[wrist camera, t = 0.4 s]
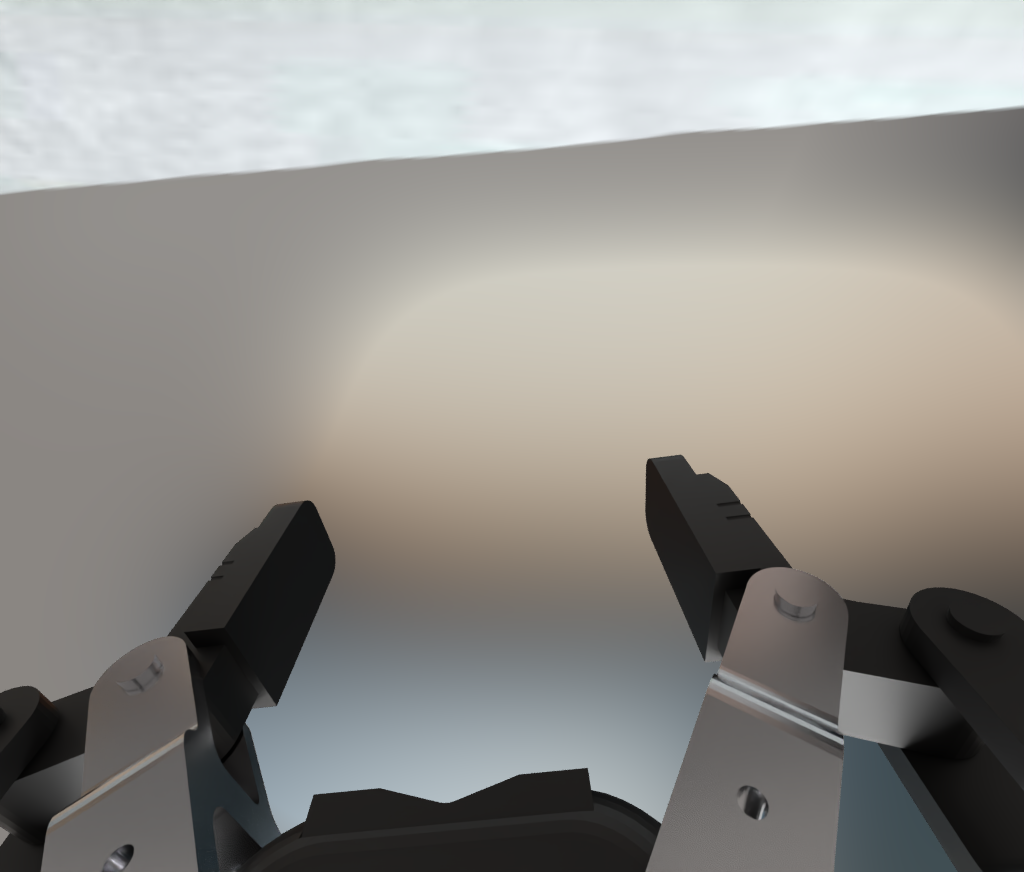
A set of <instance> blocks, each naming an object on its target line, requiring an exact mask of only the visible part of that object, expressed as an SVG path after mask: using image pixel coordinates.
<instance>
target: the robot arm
mask: <svg viewBox="0 0 1024 872" xmlns="http://www.w3.org/2000/svg"><path fill="white" fill-rule="evenodd" d="M645 507H646V508H645V512H646V522H647V527H648V531H649V534H650V537H651V540H652V542H653V544H654V547H655V549H656V551H657V553H658V556H659V558H660V560H661V562H662V565H663V567H664V570H665V572H666V574H667V576H668V579H669V581H670V583H671V585H672V588H673V590H674V592H675V595H676V597H677V599H678V602H679V604H680V606H681V608H682V611H683V613H684V615H685V618H686V620H687V622H688V625H689V627H690V629H691V631H692V634H693V636H694V638H695V640H696V643H697V645H698V647H699V650H700V652H701V654H702V657H703V659H704V661H705V662H714V661H722V662H721V665H720V668H719V671H718V673H717V675H716V674H714V675H713V677H712V679H711V681H710V683H709V686H708V689H707V692H706V694H705V697H704V701H703V703H702V707H701V709H700V712H699V715H698V718H697V721H696V724H695V727H694V730H693V733H692V736H691V739H690V742H689V745H688V748H687V751H686V754H685V757H684V760H683V763H682V765H681V768H680V771H679V774H678V777H677V780H676V783H675V786H674V789H673V792H672V795H671V798H670V801H669V804H668V807H667V809H666V812H665V815H664V818H663V821H662V824H661V823H659V822H658V821H656V820H655V819H654V818H652V817H651V816H649V815H648V814H647V813H645V812H644V811H642V810H641V809H639V808H637V807H635V806H634V805H632V804H630V803H628V802H626V801H624V800H622V799H619V798H617V797H614V796H611V795H609V794H606V793H602V792H597V791H593V790H591V786H590V780H589V773H588V768H582V769H573V770H563V771H552V772H542V773H531V774H521V775H517V776H515V777H512V778H510V779H507V780H505V781H503V782H500V783H498V784H495V785H493V786H490V787H488V788H486V789H483V790H481V791H478V792H476V793H473V794H471V795H469V796H466V797H464V798H461V799H459V800H456V801H454V802H450V803H439V802H435V801H431V800H426V799H423V798H418V797H414V796H410V795H406V794H402V793H397V792H393V791H389V790H385V789H381V788H378V789H368V790H357V791H348V792H337V793H326V794H318V795H317V794H316V795H314V796H313V799H312V802H311V805H310V809H309V812H308V815H307V818H306V821H305V822H303V823H301V824H299V825H297V826H295V827H294V828H292V829H290V830H288V831H286V832H285V833H283V834H281V833H280V831H279V829H278V827H277V825H276V823H275V821H274V818H273V815H272V813H271V809H270V806H269V802H268V798H267V794H266V790H265V786H264V782H263V778H262V775H261V770H260V766H259V763H258V759H257V755H256V751H255V747H254V743H253V739H252V735H251V731H250V729H249V727H248V726H247V725H246V723H245V722H246V719H247V718H248V715H249V713H250V711H251V709H253V708H263V707H272V706H277V704H278V702H279V699H280V697H281V695H282V692H283V690H284V688H285V685H286V683H287V681H288V678H289V676H290V674H291V671H292V669H293V667H294V665H295V662H296V660H297V657H298V655H299V653H300V651H301V648H302V646H303V643H304V641H305V639H306V637H307V634H308V632H309V630H310V627H311V625H312V622H313V620H314V618H315V616H316V613H317V611H318V609H319V606H320V604H321V602H322V599H323V597H324V595H325V592H326V590H327V587H328V585H329V583H330V581H331V578H332V576H333V573H334V569H335V552H334V548H333V546H332V544H331V541H330V539H329V536H328V534H327V532H326V530H325V527H324V525H323V523H322V520H321V518H320V516H319V513H318V511H317V509H316V507H315V505H314V504H313V503H312V502H311V501H300V502H292V503H284V504H277V505H275V506H274V507H273V508H272V509H271V510H270V512H269V513H268V514H267V516H266V517H265V519H264V520H263V522H262V523H261V524H260V526H259V527H258V528H255V529H253V530H252V531H251V532H250V533H249V534H247V535H246V536H245V537H244V538H242V539H241V540H240V541H239V542H238V543H236V544H235V546H234V547H233V548H232V549H231V551H230V552H229V554H228V555H227V556H226V558H225V559H224V560H223V562H222V566H219V567H218V568H217V570H216V571H215V573H214V574H213V575H212V576H211V578H212V579H211V581H208V582H207V583H206V585H205V586H204V587H203V589H202V590H201V591H200V593H199V594H198V595H197V597H196V598H195V599H194V601H193V602H192V604H191V605H190V606H189V607H188V609H187V610H186V612H185V613H184V614H183V616H182V617H181V618H180V620H179V621H178V622H177V624H176V625H175V627H174V628H173V629H172V630H171V632H170V633H169V635H168V636H167V637H161V638H157V639H154V640H151V641H149V642H146V643H144V644H142V645H140V646H138V647H136V648H135V649H133V650H131V651H130V652H128V653H127V654H125V655H124V656H122V657H121V658H120V659H119V660H117V661H116V662H115V663H114V664H113V665H112V666H110V668H108V669H107V670H106V671H105V673H104V674H103V675H102V676H101V677H100V679H99V680H98V681H97V683H96V684H95V686H94V687H91V688H89V689H86V690H83V691H81V692H78V693H75V694H72V695H70V696H67V697H64V698H61V699H59V700H56V701H53V702H50V701H49V700H48V699H47V698H46V697H45V696H44V695H43V694H42V693H41V692H40V691H39V690H38V689H36V688H34V687H31V686H22V687H17V688H13V689H10V690H7V691H4V692H2V693H0V827H2V828H3V829H5V830H6V831H8V832H9V833H10V834H9V835H8V837H7V838H6V839H5V841H4V842H3V844H2V845H1V846H0V872H834V862H835V850H836V839H837V827H838V815H839V803H840V792H841V780H842V768H843V756H844V737H843V735H847V736H851V737H856V738H860V739H864V740H869V741H873V742H877V743H878V744H879V746H880V748H881V749H882V751H883V752H884V754H885V756H886V757H887V759H888V760H889V762H890V764H891V765H892V767H893V768H894V770H895V772H896V773H897V775H898V777H899V778H900V780H901V781H902V783H903V784H904V786H905V788H906V789H907V791H908V793H909V794H910V796H911V797H912V799H913V801H914V802H915V804H916V805H917V807H918V808H919V810H920V812H921V813H922V815H923V816H924V818H925V820H926V821H927V823H928V825H929V826H930V828H931V829H932V831H933V833H934V834H935V836H936V838H937V839H938V841H939V842H940V844H941V845H942V847H943V849H944V850H945V852H946V853H947V855H948V857H949V858H950V860H951V862H952V863H953V865H954V866H955V868H956V870H957V871H958V872H1024V621H1023V620H1022V619H1021V618H1019V617H1018V616H1017V615H1015V614H1014V613H1012V612H1011V611H1009V610H1008V609H1006V608H1004V607H1003V606H1001V605H999V604H997V603H995V602H993V601H991V600H989V599H986V598H984V597H981V596H978V595H976V594H973V593H969V592H966V591H962V590H957V589H952V588H927V589H924V590H921V591H919V592H917V593H915V594H914V596H913V597H912V598H911V600H910V603H909V605H908V607H907V609H903V608H897V607H890V606H883V605H876V604H869V603H862V602H856V601H850V600H846V599H842V597H841V596H840V595H839V594H838V592H836V591H835V590H834V589H833V588H832V587H831V586H830V585H828V584H827V583H826V582H824V581H822V580H821V579H819V578H818V577H815V576H813V575H811V574H809V573H806V572H803V571H800V570H796V569H793V568H792V567H791V566H790V564H789V563H788V562H787V561H786V559H785V558H784V557H783V555H782V554H781V553H780V552H779V550H778V549H777V548H776V547H775V546H774V544H773V543H772V541H771V540H770V539H769V537H768V536H767V535H766V534H765V532H764V531H763V530H762V528H761V527H760V526H759V525H758V523H757V522H756V521H755V519H754V518H751V516H750V513H749V512H748V510H747V509H746V508H745V506H744V505H743V504H741V503H740V500H739V499H738V498H737V496H736V495H735V494H734V492H733V491H732V490H731V488H730V487H729V486H728V485H727V484H725V483H723V482H722V481H720V480H719V479H717V478H715V477H714V476H712V475H711V474H709V473H707V474H698V475H696V474H695V472H694V471H693V469H692V468H691V467H690V465H689V464H688V462H687V461H686V459H685V458H684V457H683V456H682V455H675V456H667V457H659V458H651V459H648V460H647V464H646V506H645Z"/></svg>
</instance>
